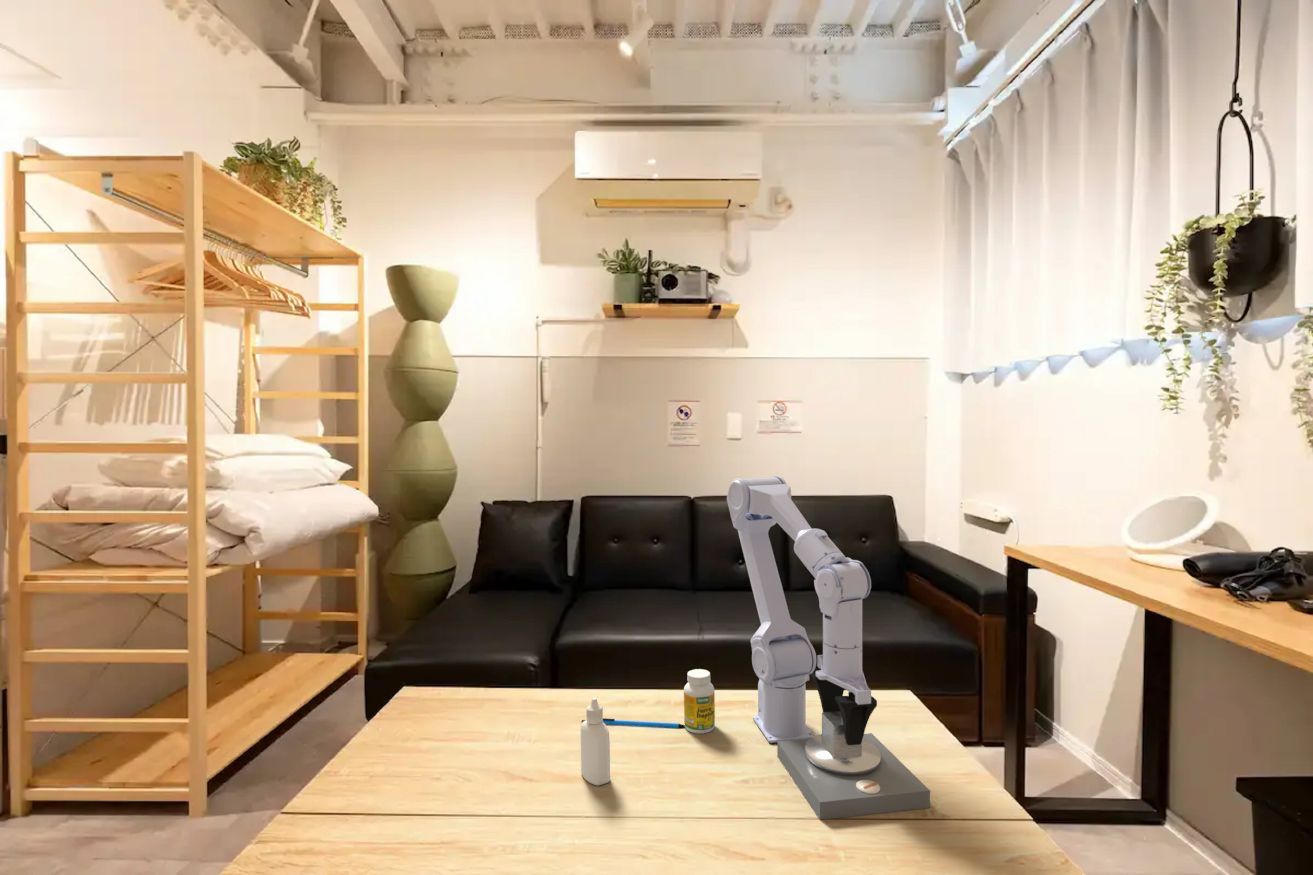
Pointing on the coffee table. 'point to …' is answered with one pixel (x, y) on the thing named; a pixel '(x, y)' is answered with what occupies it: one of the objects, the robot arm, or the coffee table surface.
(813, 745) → the pan
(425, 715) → the coffee table surface
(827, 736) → the block
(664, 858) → the coffee table surface
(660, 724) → the pen
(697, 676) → the supplement bottle
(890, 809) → the scale base
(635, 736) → the coffee table surface
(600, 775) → the eye dropper bottle
